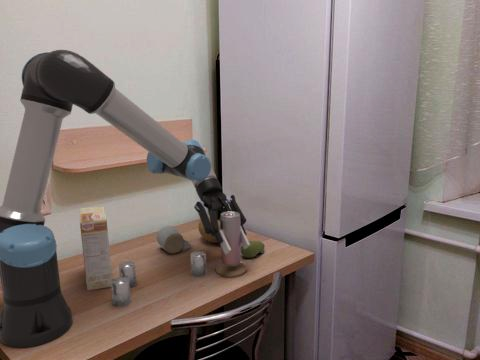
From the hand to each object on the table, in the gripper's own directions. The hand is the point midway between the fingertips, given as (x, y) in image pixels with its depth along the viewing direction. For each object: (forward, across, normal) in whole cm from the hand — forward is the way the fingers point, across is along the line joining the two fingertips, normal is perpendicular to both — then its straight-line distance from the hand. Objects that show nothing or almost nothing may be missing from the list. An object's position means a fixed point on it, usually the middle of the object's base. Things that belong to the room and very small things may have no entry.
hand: (237, 249), depth 122 cm
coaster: (+3, 0, -8) cm, 9 cm away
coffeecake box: (-11, +33, -22) cm, 41 cm away
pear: (-1, -13, -13) cm, 18 cm away
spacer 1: (+2, +33, -9) cm, 34 cm away
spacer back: (-4, +28, -16) cm, 32 cm away
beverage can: (+1, 0, -6) cm, 7 cm away
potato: (-13, -10, -25) cm, 30 cm away
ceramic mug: (-15, +5, -27) cm, 31 cm away
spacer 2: (0, +8, -11) cm, 14 cm away
